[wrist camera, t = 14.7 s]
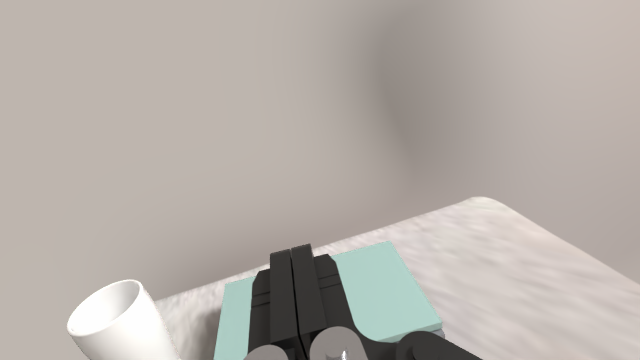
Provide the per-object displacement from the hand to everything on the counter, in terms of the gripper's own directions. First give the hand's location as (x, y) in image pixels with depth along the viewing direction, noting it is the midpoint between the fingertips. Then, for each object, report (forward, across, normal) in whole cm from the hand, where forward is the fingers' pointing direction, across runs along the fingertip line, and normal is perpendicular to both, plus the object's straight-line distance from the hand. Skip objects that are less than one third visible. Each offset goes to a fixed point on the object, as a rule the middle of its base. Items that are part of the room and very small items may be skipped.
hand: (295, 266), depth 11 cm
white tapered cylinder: (+15, +21, +27) cm, 37 cm away
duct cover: (+17, +1, +22) cm, 28 cm away
